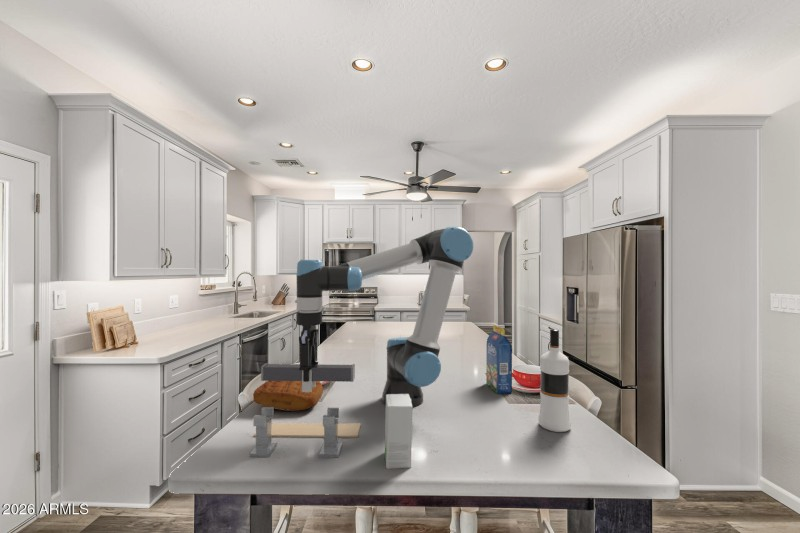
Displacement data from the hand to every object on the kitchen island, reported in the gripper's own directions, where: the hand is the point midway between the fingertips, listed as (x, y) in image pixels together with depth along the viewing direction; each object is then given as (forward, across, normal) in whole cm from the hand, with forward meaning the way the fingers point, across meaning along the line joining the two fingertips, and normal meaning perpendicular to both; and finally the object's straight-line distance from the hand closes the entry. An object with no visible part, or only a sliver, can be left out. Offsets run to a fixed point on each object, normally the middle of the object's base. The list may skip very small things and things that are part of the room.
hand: (308, 389), depth 108 cm
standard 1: (+13, +12, -9) cm, 19 cm away
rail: (-3, 0, 0) cm, 3 cm away
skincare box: (+13, +16, +27) cm, 34 cm away
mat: (+12, 0, 0) cm, 12 cm away
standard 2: (+12, +12, +9) cm, 20 cm away
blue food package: (+12, -39, +67) cm, 79 cm away
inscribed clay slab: (+13, -20, -12) cm, 27 cm away
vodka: (+12, -4, +75) cm, 76 cm away
